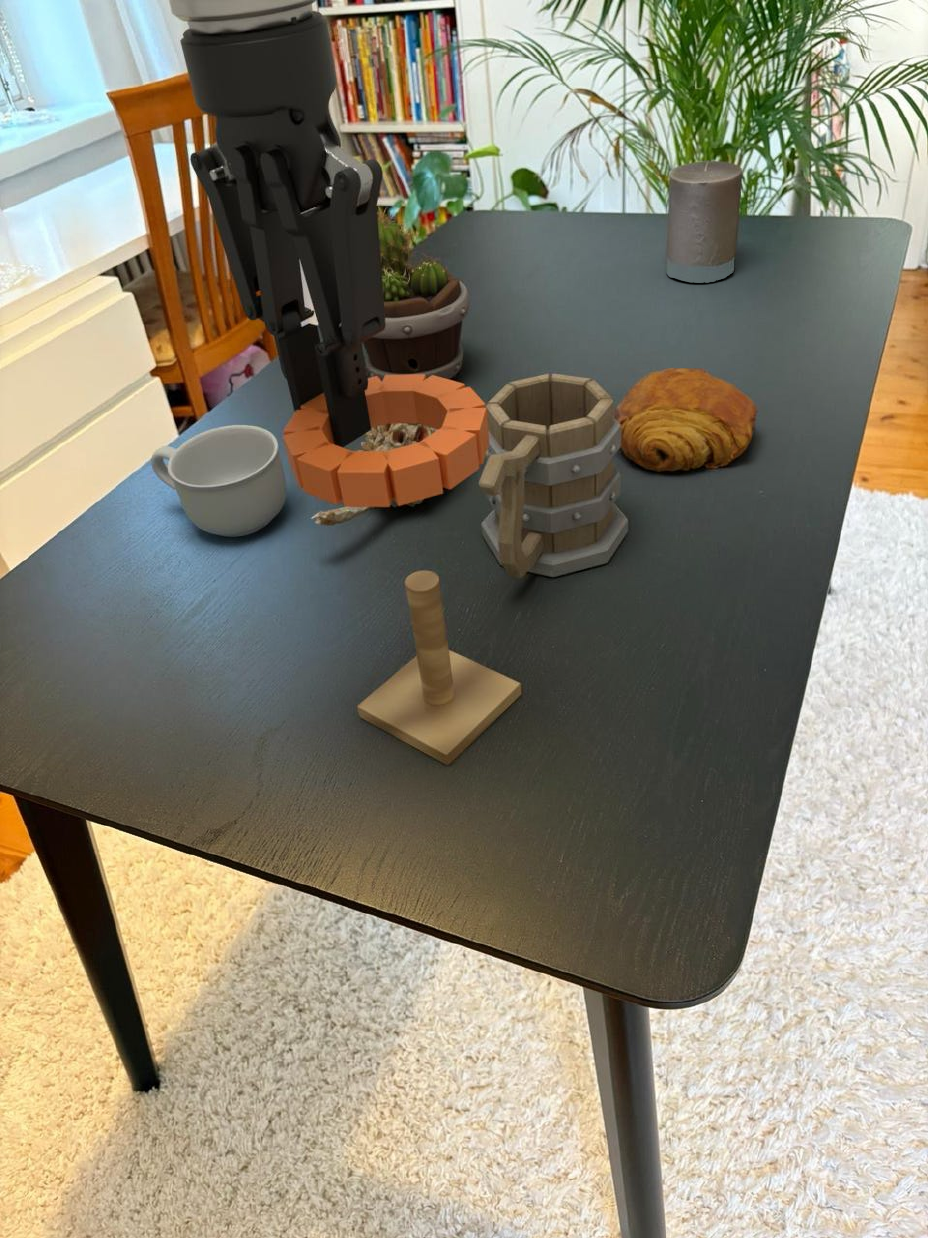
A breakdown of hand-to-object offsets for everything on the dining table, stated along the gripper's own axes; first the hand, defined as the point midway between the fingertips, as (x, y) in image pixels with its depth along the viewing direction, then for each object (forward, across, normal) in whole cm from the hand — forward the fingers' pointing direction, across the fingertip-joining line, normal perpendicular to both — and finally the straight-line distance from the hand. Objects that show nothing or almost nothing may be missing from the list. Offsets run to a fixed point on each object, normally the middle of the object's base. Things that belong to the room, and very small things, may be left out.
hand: (335, 430), depth 64 cm
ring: (0, -5, 0) cm, 5 cm away
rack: (+23, -6, 0) cm, 23 cm away
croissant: (+23, -2, -45) cm, 51 cm away
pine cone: (+23, +16, -19) cm, 34 cm away
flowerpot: (+23, +34, -43) cm, 60 cm away
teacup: (+23, +30, -9) cm, 39 cm away
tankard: (+23, -1, -20) cm, 31 cm away
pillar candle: (+23, +20, -89) cm, 94 cm away
